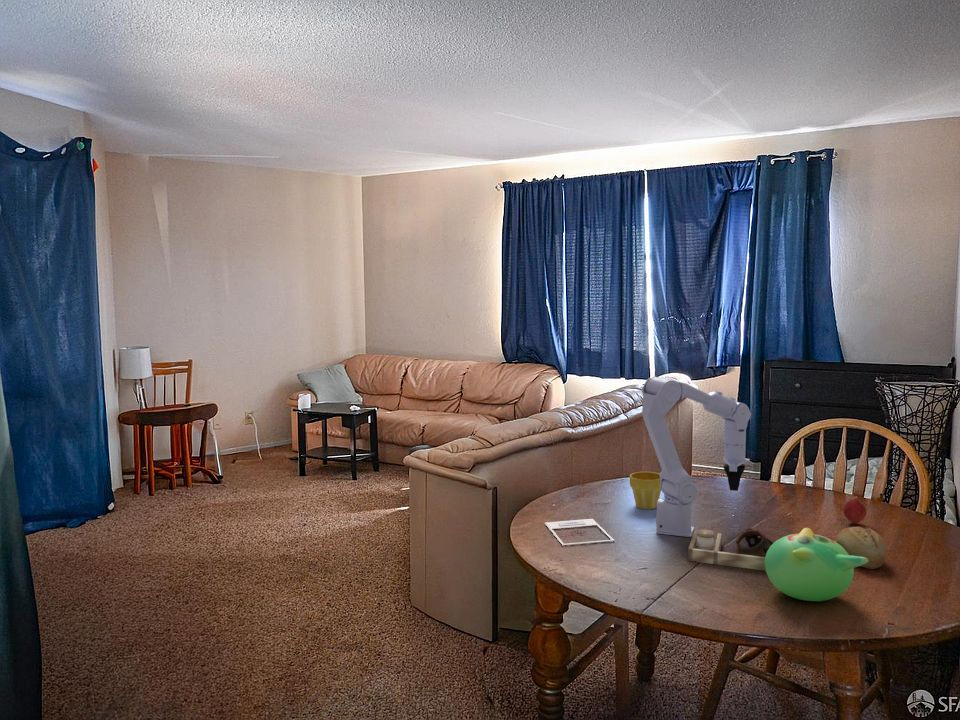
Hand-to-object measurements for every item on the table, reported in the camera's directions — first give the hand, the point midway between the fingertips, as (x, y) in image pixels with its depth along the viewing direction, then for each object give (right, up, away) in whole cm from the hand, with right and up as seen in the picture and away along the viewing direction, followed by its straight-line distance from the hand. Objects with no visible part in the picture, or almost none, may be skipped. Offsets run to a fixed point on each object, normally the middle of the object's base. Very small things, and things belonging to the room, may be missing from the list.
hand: (733, 490), depth 205 cm
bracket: (-7, -13, -23) cm, 27 cm away
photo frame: (-45, -12, -4) cm, 47 cm away
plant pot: (-21, -9, +18) cm, 29 cm away
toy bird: (0, -15, -47) cm, 50 cm away
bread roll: (+22, -13, -26) cm, 37 cm away
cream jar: (-15, -13, -21) cm, 28 cm away
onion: (+34, -10, -1) cm, 35 cm away
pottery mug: (-3, -13, -24) cm, 27 cm away
